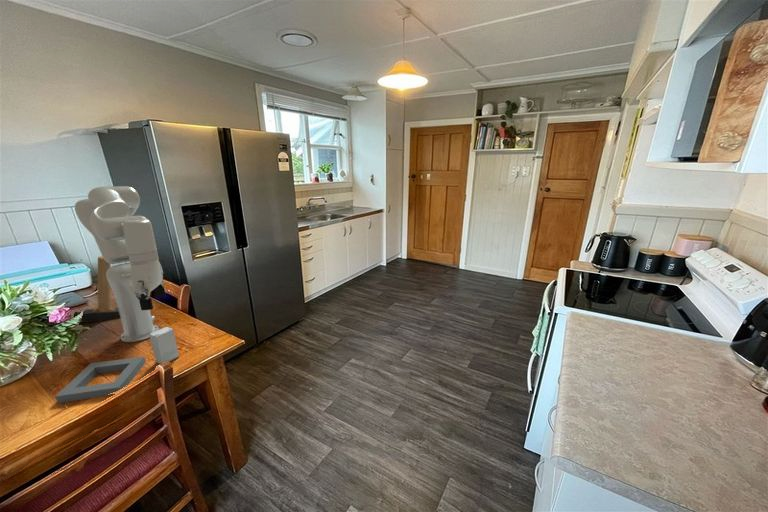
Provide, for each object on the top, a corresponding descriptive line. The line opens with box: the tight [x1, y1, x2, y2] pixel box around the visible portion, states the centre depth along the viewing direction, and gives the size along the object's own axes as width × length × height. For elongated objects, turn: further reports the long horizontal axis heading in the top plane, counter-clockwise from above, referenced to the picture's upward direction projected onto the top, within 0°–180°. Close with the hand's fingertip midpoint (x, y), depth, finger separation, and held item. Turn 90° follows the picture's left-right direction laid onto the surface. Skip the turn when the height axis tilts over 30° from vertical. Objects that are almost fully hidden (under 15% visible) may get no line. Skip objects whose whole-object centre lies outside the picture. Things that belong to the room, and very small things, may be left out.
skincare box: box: [149, 326, 180, 365], centre depth 107 cm, size 6×4×12 cm
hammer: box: [73, 255, 120, 323], centre depth 134 cm, size 20×5×30 cm, turn 124°
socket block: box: [55, 356, 146, 404], centre depth 97 cm, size 16×16×2 cm
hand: (154, 303), depth 102 cm, fingers open, 9 cm apart
